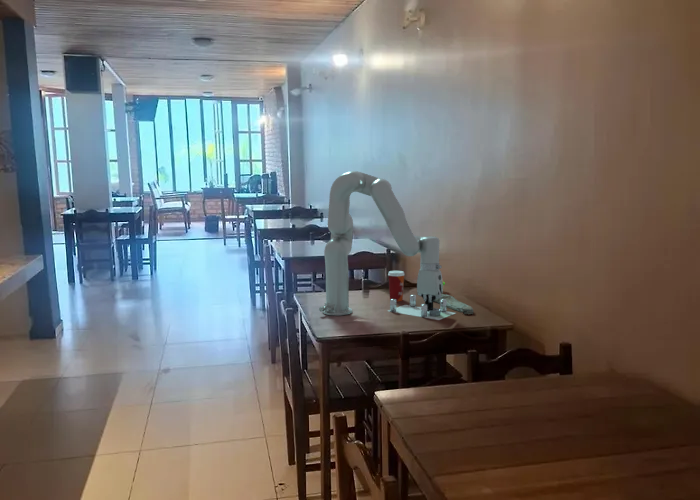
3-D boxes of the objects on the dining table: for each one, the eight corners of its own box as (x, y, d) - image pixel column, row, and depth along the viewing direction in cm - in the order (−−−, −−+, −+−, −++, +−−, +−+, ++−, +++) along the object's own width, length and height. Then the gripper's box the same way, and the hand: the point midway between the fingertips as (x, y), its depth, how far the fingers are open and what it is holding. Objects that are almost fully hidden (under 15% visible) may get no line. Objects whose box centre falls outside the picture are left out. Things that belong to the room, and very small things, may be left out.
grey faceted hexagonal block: (438, 317, 236) (438, 311, 236) (426, 315, 239) (426, 309, 238) (442, 314, 240) (442, 309, 240) (430, 313, 242) (430, 307, 242)
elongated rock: (458, 319, 242) (479, 318, 246) (459, 307, 241) (480, 306, 245) (420, 298, 274) (439, 297, 278) (421, 287, 274) (440, 286, 277)
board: (439, 322, 232) (439, 319, 232) (386, 313, 247) (386, 310, 247) (456, 315, 243) (456, 313, 243) (405, 306, 258) (405, 304, 258)
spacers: (429, 318, 234) (429, 306, 233) (388, 311, 246) (388, 299, 246) (447, 311, 245) (447, 299, 245) (407, 304, 258) (408, 293, 257)
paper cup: (405, 304, 264) (405, 273, 262) (388, 304, 264) (388, 273, 262) (404, 300, 272) (404, 270, 270) (387, 300, 272) (387, 270, 270)
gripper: (450, 267, 238) (449, 311, 241) (418, 263, 247) (418, 306, 250) (441, 270, 232) (440, 315, 235) (409, 266, 242) (408, 309, 244)
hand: (429, 310), depth 243 cm, fingers closed
